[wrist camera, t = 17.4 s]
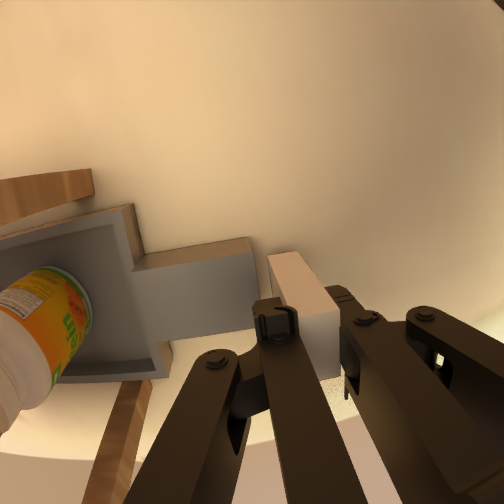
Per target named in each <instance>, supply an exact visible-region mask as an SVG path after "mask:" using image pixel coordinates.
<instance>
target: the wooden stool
mask: <svg viewBox="0 0 504 504" xmlns="http://www.w3.org/2000/svg"><path fill="white" fill-rule="evenodd" d="M93 194H95V192H94V187H93V181H92V176H91V170H90V169H82V170H72V171H63V172H54V173H46V174H38V175H30V176H23V177H16V178H10V179H3V180H0V226H1V225H4V224H7V223H9V222H12V221H15V220H17V219H20V218H23V217H26V216H28V215H31V214H34V213H37V212H40V211H43V210H46V209H49V208H52V207H55V206H58V205H61V204H64V203H67V202H70V201H74V200H77V199H80V198H83V197H87V196H90V195H93ZM151 391H152V385H151V383H150V380H137V381H123V382H122V385H121V388H120V390H119V393H118V396H117V398H116V401H115V404H114V406H113V409H112V412H111V415H110V417H109V420H108V423H107V426H106V429H105V432H104V435H103V437H102V440H101V443H100V446H99V449H98V452H97V455H96V458H95V461H94V465H93V468H92V471H91V474H90V477H89V480H88V484H87V487H86V490H85V494H84V497H83V501H82V504H122V503H123V501H124V500H125V498H126V496H127V494H128V492H129V488H130V483H131V478H132V473H133V468H134V464H135V459H136V454H137V450H138V445H139V441H140V437H141V432H142V428H143V424H144V419H145V415H146V411H147V407H148V403H149V399H150V395H151ZM2 434H3V433H0V437H1V435H2Z"/></svg>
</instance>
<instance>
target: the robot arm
mask: <svg viewBox="0 0 504 504" xmlns="http://www.w3.org/2000/svg"><path fill="white" fill-rule="evenodd" d="M496 1H497V3H498V4H499V5H500V6H501V7H502V8H504V0H496ZM267 259H268V266H269V273H270V281H271V288H272V295H273V298H268V299H263V300H257V301H255V303H254V304H253V306H252V312H253V318H254V324H255V330H256V336H257V343H256V345H255V346H254V347H253V349H251V350H250V351H248V352H246V353H244V354H242V355H239V356H237V354H236V353H235V352H233V351H231V350H227V349H215V350H211V351H208V352H205V353H204V354H202V355H201V356H199V357H198V359H197V360H196V361H195V363H194V365H193V367H192V369H191V371H190V373H189V374H188V376H187V378H186V380H185V382H184V384H183V386H182V388H181V390H180V392H179V394H178V396H177V398H176V400H175V402H174V404H173V406H172V408H171V410H170V412H169V414H168V415H167V417H166V419H165V421H164V423H163V425H162V427H161V429H160V431H159V433H158V435H157V437H156V439H155V441H154V443H153V445H152V447H151V449H150V451H149V453H148V455H147V457H146V458H145V460H144V462H143V464H142V467H141V468H140V470H139V472H138V474H137V476H136V478H135V480H134V482H133V484H132V486H131V488H130V490H129V492H128V494H127V496H126V498H125V500H124V501H123V503H122V504H231V503H232V499H233V495H234V491H235V487H236V483H237V479H238V475H239V471H240V467H241V463H242V459H243V455H244V450H245V446H246V442H247V438H248V434H249V429H250V425H251V416H253V415H256V414H258V413H261V412H263V411H265V410H268V409H270V414H271V420H272V425H273V430H274V436H275V441H276V446H277V452H278V457H279V462H280V467H281V472H282V478H283V483H284V488H285V493H286V498H287V503H288V504H368V502H367V499H366V497H365V494H364V492H363V489H362V487H361V484H360V481H359V479H358V476H357V474H356V471H355V469H354V466H353V464H352V461H351V459H350V456H349V454H348V452H347V449H346V446H345V444H344V441H343V439H342V436H341V434H340V431H339V429H338V426H337V424H336V422H335V419H334V417H333V414H332V412H331V409H330V407H329V404H328V402H327V399H326V397H325V394H324V392H323V390H322V387H321V385H320V382H319V381H322V380H326V379H330V378H335V377H339V376H341V365H342V367H343V369H344V371H345V386H344V398H345V400H347V399H348V393H350V395H351V397H352V399H353V401H354V403H355V405H356V407H357V409H358V411H359V413H360V415H361V417H362V419H363V421H364V423H365V426H366V428H367V430H368V432H369V434H370V436H371V438H372V440H373V442H374V444H375V446H376V448H377V450H378V452H379V455H380V456H381V459H382V461H383V463H384V465H385V467H386V469H387V471H388V473H389V476H390V477H391V480H392V482H393V484H394V486H395V488H396V490H397V493H398V495H399V497H400V499H401V501H402V503H403V504H504V344H503V343H501V342H500V341H498V340H496V339H494V338H492V337H490V336H488V335H487V334H485V333H483V332H481V331H479V330H477V329H475V328H473V327H471V326H470V325H468V324H466V323H464V322H462V321H460V320H458V319H456V318H454V317H452V316H450V315H448V314H447V313H445V312H443V311H441V310H439V309H436V308H434V307H429V306H418V307H415V308H412V309H411V310H409V311H408V312H407V315H406V321H396V322H388V321H387V320H386V319H385V318H384V317H383V316H382V315H381V314H379V313H378V312H375V311H371V310H365V309H364V308H363V307H362V305H361V304H360V303H359V302H358V301H357V300H356V299H355V297H354V296H353V295H351V293H350V292H349V291H348V290H347V289H346V288H344V287H342V286H340V285H335V286H329V287H323V286H322V284H321V283H320V281H319V280H318V279H317V277H316V276H315V275H314V273H313V272H312V271H311V269H310V268H309V267H308V265H307V264H306V263H305V261H304V260H303V259H302V257H301V256H300V254H299V253H298V252H297V251H293V252H287V253H281V254H275V255H269V256H267ZM438 353H439V354H440V355H442V356H443V357H444V361H443V365H442V366H440V365H438V364H437V363H436V361H437V355H438Z"/></svg>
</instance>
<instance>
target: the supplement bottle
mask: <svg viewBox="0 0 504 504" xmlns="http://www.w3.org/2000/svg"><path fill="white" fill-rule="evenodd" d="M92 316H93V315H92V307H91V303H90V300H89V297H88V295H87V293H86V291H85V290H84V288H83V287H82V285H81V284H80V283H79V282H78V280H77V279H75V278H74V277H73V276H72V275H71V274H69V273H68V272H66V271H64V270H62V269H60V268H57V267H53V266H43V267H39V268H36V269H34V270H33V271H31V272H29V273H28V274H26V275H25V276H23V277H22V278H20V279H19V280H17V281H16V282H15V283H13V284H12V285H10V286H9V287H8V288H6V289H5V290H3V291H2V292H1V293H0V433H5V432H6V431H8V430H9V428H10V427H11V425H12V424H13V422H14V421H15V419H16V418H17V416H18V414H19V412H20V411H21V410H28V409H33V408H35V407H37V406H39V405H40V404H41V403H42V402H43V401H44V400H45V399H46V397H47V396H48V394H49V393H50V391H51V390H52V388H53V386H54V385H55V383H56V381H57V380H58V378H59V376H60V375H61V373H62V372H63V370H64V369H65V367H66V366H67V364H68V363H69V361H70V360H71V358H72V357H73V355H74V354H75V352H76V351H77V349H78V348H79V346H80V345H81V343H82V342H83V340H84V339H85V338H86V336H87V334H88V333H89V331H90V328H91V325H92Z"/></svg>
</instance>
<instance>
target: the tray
mask: <svg viewBox="0 0 504 504" xmlns="http://www.w3.org/2000/svg"><path fill="white" fill-rule="evenodd" d="M43 266H53V267H57V268H60V269H62V270H64V271H66V272H68V273H69V274H71V275H72V276H73V277H74V278H75V279H77V280H78V282H79V283H80V284H81V285H82V287H83V288H84V290H85V291H86V293H87V295H88V297H89V300H90V303H91V307H92V315H93V316H92V325H91V328H90V331H89V333H88V334H87V336H86V338H85V339H84V340H83V342H82V343H81V345H80V346H79V348H78V349H77V351H76V352H75V354H74V355H73V357H72V358H71V360H70V361H69V363H68V364H67V366H66V367H65V369H64V370H63V372H62V373H61V375H60V376H59V378H58V380H57V381H56V383H102V382H122V381H137V380H150V379H161V378H169V374H170V369H171V364H172V359H173V355H172V352H171V349H170V346H169V343H168V341H172V340H179V339H187V338H194V337H201V336H208V335H215V334H221V333H228V332H234V331H240V330H246V329H252V328H255V324H254V318H253V312H252V306H253V304H254V303H255V301H257V300H261V299H260V293H259V286H258V280H257V273H256V267H255V260H254V254H253V250H252V247H251V244H250V241H249V238H248V237H245V238H239V239H233V240H227V241H222V242H216V243H210V244H204V245H198V246H192V247H186V248H181V249H175V250H169V251H164V252H158V253H152V254H147V255H144V251H143V247H142V243H141V238H140V234H139V229H138V225H137V220H136V215H135V211H134V206H133V203H132V204H127V205H123V206H118V207H114V208H110V209H105V210H101V211H97V212H92V213H88V214H84V215H80V216H76V217H72V218H68V219H64V220H60V221H56V222H53V223H49V224H45V225H41V226H38V227H34V228H31V229H27V230H24V231H20V232H17V233H13V234H10V235H6V236H3V237H0V293H1V292H2V291H3V290H5V289H6V288H8V287H9V286H10V285H12V284H13V283H15V282H16V281H17V280H19V279H20V278H22V277H23V276H25V275H26V274H28V273H29V272H31V271H33V270H34V269H36V268H39V267H43Z"/></svg>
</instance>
